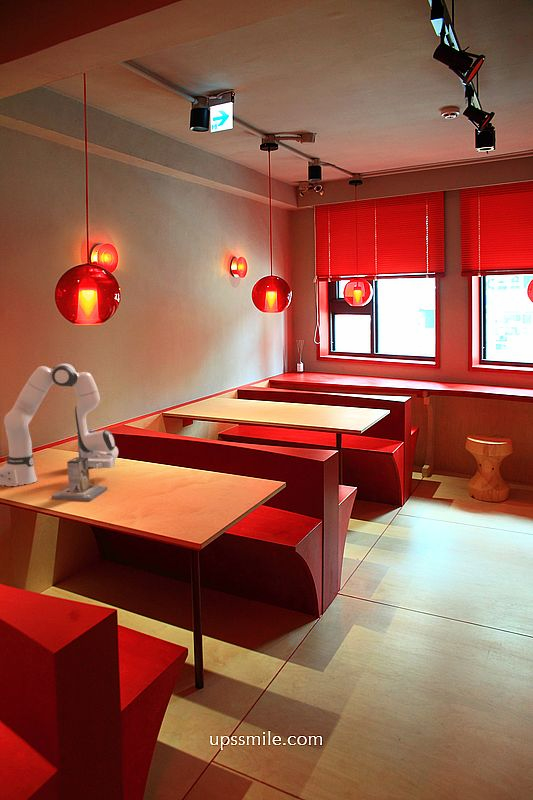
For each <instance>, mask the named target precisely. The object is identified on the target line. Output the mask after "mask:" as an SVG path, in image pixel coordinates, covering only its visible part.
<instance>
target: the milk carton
mask: <svg viewBox="0 0 533 800" xmlns="http://www.w3.org/2000/svg"><path fill="white" fill-rule="evenodd" d="M88 432H89V433H93V432H98V430H88ZM76 433H77V435H78V431H77V432H76ZM77 448H78V450H77V451H78V457H91V455H92V454H93V453H94V452H96V451H98V450H95V451H92V452H89V453H86V452H84V451H82V450H81V449H80V448H79V444H78V443H77ZM90 468H91V469H95V468H94V467H90ZM90 468H89V469H90Z"/></svg>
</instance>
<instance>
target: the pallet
mask: <svg viewBox="0 0 533 800" xmlns="http://www.w3.org/2000/svg"><path fill="white" fill-rule="evenodd" d="M89 485H90V489H88V490H87V491H85V492H83V493H73V492H69V485H68V486H66V487H64V488H63V489H61V490H59V491H57V492H56V493H54V494H53V495H51V499H52V500H63V499H66V501H83V502H92V501H94V500H95V499H96V498H97V497H99V496H101V495H102V494H103V493H105V492H106V491H108V490H107V489H108V486H100V485H99V484H90V483H89Z"/></svg>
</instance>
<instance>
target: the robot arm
mask: <svg viewBox="0 0 533 800" xmlns="http://www.w3.org/2000/svg"><path fill="white" fill-rule="evenodd" d="M54 384H55V385H56V386H59V387H73V389H74V391H75V394H76V397H77V404H76V406H75V409H74V415H75V422H76V429H77V430H76V431H77V432H78V434H77V445H78V444H79V448H80V449H81V450H82V451H84V452H86V453H89V452H92V451H95V450H98V451H96V452H94V453H93V454H92V455H91V457H84V458H88V467H94V468H93V469H102V468H103V469H110V468H113V467H115V466H116V459H117V458H118V456H119V448H118V447H117V446H116V440H115V437H114V435H113V433H111V431H110V430H108V429H103V430H99V431H98V430H97V431H98V432H93V433H89V432H88V424H87V415H88V414H89V413H90V412H92V411H93V410H94V409H96V408H97V407H98V405H99V404H100V401H101V397H100V396H101V395H100V393H99V392H100V391H99V389H98V386H97V384H96V381H95V380H94V377H93V375H92V373H90V372H87V371H82V372H77V369H76V367H75V366H74V365H73V364H72V363H70V362H61V363H59V364H57V365H55V366H54V367H52V368H50V367H49V366H45V365H41V366H38V367H37V368H36V369H35V370H34V371H33V372H32V374H31V375H30V377H29V378H28V380H27V381H26V383H25V385H24V386H23V388H22V390H21V391H20V393H19V395H18V397H17V399H16V400H15V402H14V405H13V406H12V408H11V409H10V410H9V412H7V413H6V414H5V416H4V419H3V423H4V428H5V429H4V430H5V433H6V438H7V443H8V444H7V445H8V456H7V457H5V458H4V461H6V463H5V464H3V465H2V466H1V467H0V486H4V485H6V487H11V486H14V487H18V485H19V486H25V485H24V484H26V485H30V484H32V483H33V482H34V483H35V482H37V481H38V478H37V475H36V472H35V468H34V463H35V462H34V454H33V446H32V445H33V444H32V437H31V434H30V428H29V424H30V423H31V421H32V419H33V418H34V416H35V415H36V412H37V411H38V408H39V407H40V405H41V403H43V400H44V398H45V396H46V395H47V393H48V392H49V390H50V389H51V386H53V385H54Z"/></svg>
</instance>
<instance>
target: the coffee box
mask: <svg viewBox="0 0 533 800" xmlns="http://www.w3.org/2000/svg"><path fill="white" fill-rule="evenodd" d="M66 463H67V465H66V467H67V478H68V479H67V480H68V486H69V492H73V493H83V492H85V491H87V490H88V489H90V485H91V484H90V471H89V470H90V468H88V458H84V457H79V456H77V457H73V458H71V459H70V460H68V461H67V462H66ZM89 484H90V485H89Z"/></svg>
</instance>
